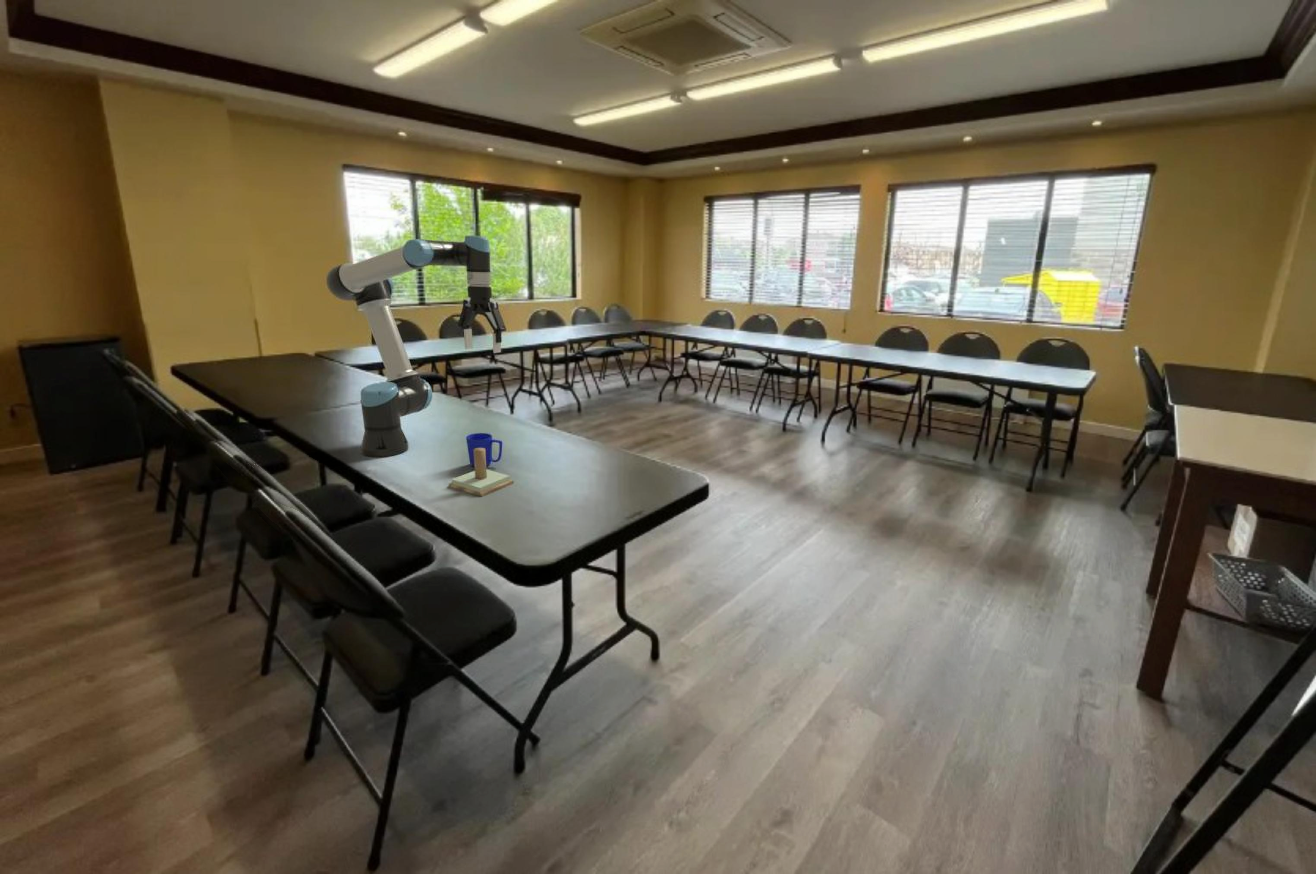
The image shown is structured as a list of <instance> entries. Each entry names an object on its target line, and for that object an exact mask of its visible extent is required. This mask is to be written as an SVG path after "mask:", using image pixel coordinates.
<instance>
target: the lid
mask: <svg viewBox="0 0 1316 874" xmlns="http://www.w3.org/2000/svg"><path fill="white" fill-rule="evenodd" d="M474 466H475V467H474ZM474 466H473V467H474V470H473V471H470V472H468V473H465V474H463V475H459V476H457V477H454V478H451V483H452V484H454V485H457V486H461V487H464V488H467V489H470V490H474V491H477V492H480V493H481V492H483V491H486V490H488V489H490V488H493V487H495V486H498V485H500V484H502V483H505V482H507V481H510V480H511V477H510V475H508V474H505V473H501V472H497V471H493V470H490V469H487V466H486V453H485V448H475V449H474Z"/></svg>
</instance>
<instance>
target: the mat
mask: <svg viewBox="0 0 1316 874" xmlns="http://www.w3.org/2000/svg"><path fill="white" fill-rule="evenodd" d="M514 481H515V480H512V479H510V481H507V482H505V483H502V484H500V485H498V486H495V487H493V488H490V489H488V490H486V491H483V492H481V493H480V492H477V491H474V490H470V489H467V488H464V487H461V486H457V485H454V484H452V482H450V483H448V487H451V488H453V489H457V490H460V491H463V492H465V493H469V494H473V495H475V496H478V497H479V496H480V497H484V496H487V495H489V494H491V493H494V492H496V491H498V490H501V489H503V488H505V487H508V486H510V485H513V484H514Z"/></svg>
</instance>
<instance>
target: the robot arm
mask: <svg viewBox="0 0 1316 874" xmlns="http://www.w3.org/2000/svg"><path fill="white" fill-rule="evenodd" d="M490 249H491V248H490V241H489V238H488V237H487V236H483V235H466V236H464V241H447V240H429V239H423V238H415V239H408V240H406V242H405V244H404V245H403V246H401V247H398V248H396V249H393V250H389V251H387V252H383V253H381V254H379V255H375V256H373V257H369V258H367V259H365V260H362V261H358V262H356V263H350V262H347V263H343V264H340V265H337V266H334V267H333V268H331V269H330V270H329V271H328V272H327V275H326V280H325V282H326V286H327V288H328V290H329V292H330V293H331V295H333V296H334V297H335V298H337V299H340V300H343V301H347V302H348V301H349V302H350V301H355V305H356V306H357V309H359V310H361V311H362V312H363V313H364V315H365V318H366V320H367V322H368V326H369V328H370V331H371V334H372V336H373V339H374V341H375V344H376V346H377V350H378V353H379V355H380V358H381V360H382V362H383V367H384V369H385V371H386V374H387V378H386V380H385V381H382V382H381V381H380V382H378V383H377V382H375V383H372V384H367V385H366V386H364V387H363V388H362V389H361V391H360V405H361V406H360V407H361V413H362V419H363V420H362V421H363V428H364V431H363V437H362V441H361V445H360V450H361V454H362V455H364V456H365V457H366V456H367V457H372V458H373V457H377V458H378V457H380V458H383V457H390V456H391V457H392V456H396V455H400V454H403V453H405V452H407V451H408V450H409V442H408V440H407V439H408V438H407V437H406V434H405V433H404V431H403V429H402V423H401V421H402V420H401V418H402V417H405V416H408V415H411V414H415V413H419V412H421V411H424V410H425V409H427V408H428V407H429V406H430V405H431V402H432V400H433V390H432V387H431V385H430V384H429V382H428V381H426V379H423V378H421V376H420V374H419V372H417V371H415V370H414V369H413V367H412V364H411V362H410V359H409V357H408V353H407V351H406V348H405V345H404V342H403V339H402V337H401V334H400V332H399V329H398V326H397V323H396V321H395V318H394V315H393V313H392V309H391V307H390V306H391V304H392V301H393V300H392V295H393V293H394V288H395V287H394V286H395V285H394V281H393V279H392V278H395V277H399V276H401V275H403V274H407V273H410V272H413V271H416V270H418V269H422V268H425V267H428V266H444V267H445V266H448V267H450V266H452V267H453V266H454V267H457V266H458V267H465V268H466V281H467V284H468V286H467V297H468V298H469V299H468V298H467V299H463V301H462V309H461V313H460V316H459V319H458V323H457V326H458V327H461V329H462V333H463V340H464V349H473V348H474V347H473V330H472V328H471V327H472V324H474V323H473V322H474V321H475V319H476V318H477V316H478V315H480V316H481V315H482V316H483V317H484V318H485V319H486V320H487V322H488V324H489V325H490V327H491V329H492V331H493V332H492V349H493V354H497V353H502V342H503V341H502V340H503V339H502V333H503V332H506V331H507V327H506V325H505V322H504V319H503V316H502V314H501V312H500V308H499V303H498V301H491V298H492V297H493V293H492V287H491V285H492V275H491V250H490Z"/></svg>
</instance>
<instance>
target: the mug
mask: <svg viewBox="0 0 1316 874" xmlns="http://www.w3.org/2000/svg"><path fill="white" fill-rule="evenodd" d="M465 439H466V446H467V451H468V458H469V459H468V460H469V463H470V465H471V466H472V467H474V468H475V466H474V449H475V448H485V453H486V467H488V466H490V465H491V463H497V462H499V461H500V460H501V459H502V455H503V441H502V440H499V439H493V435H492V434H490V433H487V432H485V433H484V432H477V433H470V434H468V435H467V436H466V437H465ZM493 443H498V444H499V447H498V457H497V459H493Z"/></svg>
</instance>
